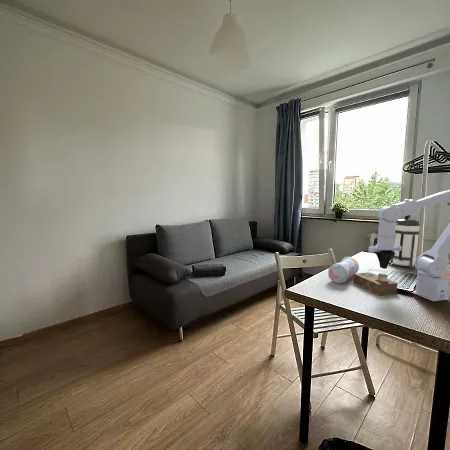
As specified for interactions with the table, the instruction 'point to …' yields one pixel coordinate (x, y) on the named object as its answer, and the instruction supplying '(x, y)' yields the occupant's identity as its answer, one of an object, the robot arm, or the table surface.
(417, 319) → the table surface
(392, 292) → the socket block
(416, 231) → the coffee press
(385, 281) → the peg near
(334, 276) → the pencil case
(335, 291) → the table surface
